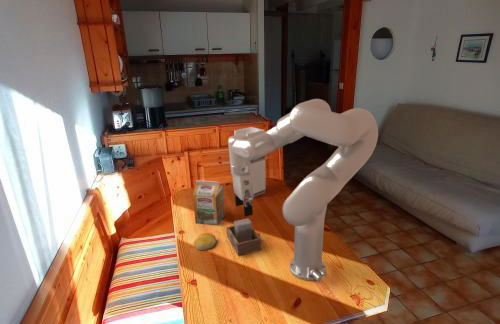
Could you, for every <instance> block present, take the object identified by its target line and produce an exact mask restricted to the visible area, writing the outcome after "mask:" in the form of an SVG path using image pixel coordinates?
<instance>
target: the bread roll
mask: <svg viewBox="0 0 500 324" xmlns="http://www.w3.org/2000/svg"><path fill="white" fill-rule="evenodd" d="M216 243H217V238H216V236H215V235H214V234H213V233H212V232H203V233H201V234H199V235H198V236H197V238H196V239H195V240H194V241H193V245H194V247H195V248H196V249H197V250H199V251H204V250H210V249H211V248H213V247H214V246H215V245H216Z"/></svg>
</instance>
